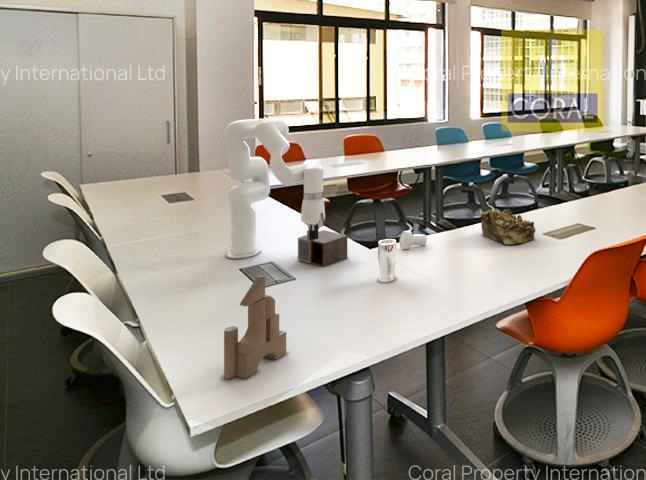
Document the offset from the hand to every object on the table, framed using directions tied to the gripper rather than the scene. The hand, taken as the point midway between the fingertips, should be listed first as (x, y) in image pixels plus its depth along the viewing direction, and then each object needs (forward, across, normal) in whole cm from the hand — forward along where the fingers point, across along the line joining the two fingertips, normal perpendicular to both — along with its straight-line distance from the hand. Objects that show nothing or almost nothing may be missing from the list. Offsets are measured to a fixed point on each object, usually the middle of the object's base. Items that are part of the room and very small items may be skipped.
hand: (313, 239), depth 224 cm
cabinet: (+11, -3, +7) cm, 13 cm away
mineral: (+11, +48, +74) cm, 89 cm away
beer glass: (+11, +38, +5) cm, 40 cm away
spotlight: (+11, +19, +38) cm, 44 cm away
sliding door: (+11, -6, 0) cm, 12 cm away
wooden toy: (+11, +53, -57) cm, 79 cm away
